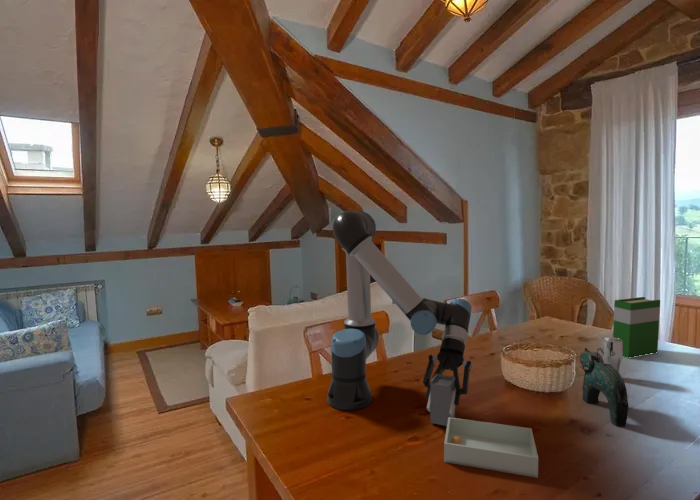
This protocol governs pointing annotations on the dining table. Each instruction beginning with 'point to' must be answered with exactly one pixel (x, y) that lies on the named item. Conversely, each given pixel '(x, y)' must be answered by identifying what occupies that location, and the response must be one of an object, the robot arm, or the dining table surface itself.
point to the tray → (491, 447)
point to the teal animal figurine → (604, 385)
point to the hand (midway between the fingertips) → (439, 412)
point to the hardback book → (637, 325)
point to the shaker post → (441, 398)
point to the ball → (456, 440)
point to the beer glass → (612, 351)
